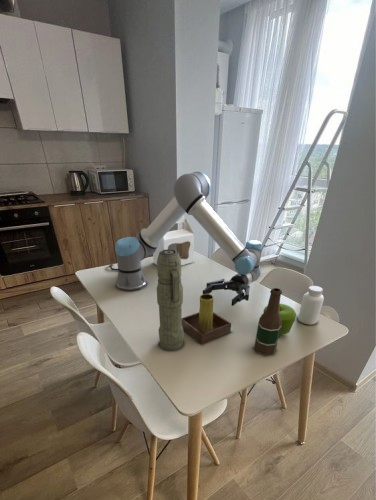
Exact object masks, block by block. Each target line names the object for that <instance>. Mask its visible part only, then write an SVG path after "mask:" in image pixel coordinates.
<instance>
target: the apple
mask: <svg viewBox="0 0 376 500" xmlns="http://www.w3.org/2000/svg"><path fill="white" fill-rule="evenodd" d="M267 306H268V304H267V305H266V306H265V307H264V308H263V313H264V312H265V311H266V309H267ZM263 313H262V314H263ZM279 313H280V315H281V318H282V325H281V329H280V334H279V336H282V335H287V334H289V333H290V332H291V329H292V327H293V325H294V323H295V322H296V321H295V320H296V319H297V313H296V310H295V309H294V308H293V307H291V306H290V305H288V304H285V303H280V304H279Z"/></svg>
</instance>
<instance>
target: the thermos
mask: <svg viewBox="0 0 376 500" xmlns="http://www.w3.org/2000/svg"><path fill="white" fill-rule="evenodd" d="M156 269H157V271H156V273H157V278H158V279H157V285H156V303H157V305H158V311H159V312H158V313H159V314H158V317H159V327H158V340H159V345H160V346H159V347H161V348H162V349H163V350H165V351H177V350H179V349H181V348H182V347H183V344H184V341H183V340H184V330H183V327H182V318H183V317H182V316H183V313H182V311H183V310H182V309H183V308H182V307H183V306H182V305H183V303H184V287H183V283H182V278H181V277H182V265H181V259H180V256H179V253H178V252H177V250H175V249H169V248H168V249H167V250H163V251H161V252H159V255H158V259H157V265H156Z"/></svg>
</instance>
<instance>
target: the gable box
mask: <svg viewBox="0 0 376 500" xmlns="http://www.w3.org/2000/svg"><path fill="white" fill-rule="evenodd" d="M176 224H182V225H181V229H175V230H169V231H168V232H167V233H166V234H165V235H164V236H163V237H162V238H161V240H160V241H159V246H158V247H157V249H156V251H155V252H154V253H153V254H152V263H153V264H154V265H156V266H157V259H158V255H159V252H161V251H163V250H167V249H169V246H170V245H173V244H176V251H177V252H178V253H179V256H180V259H181V266H184V265H187V264H193V263H194V250H195V247H194V246H195V245H194V244H195V233H194V232H193V230H192V227H191V226H190V224H189V219H188V218H186V217H185V214H184V215H183V216H182V217H181V218H180V219H179V220H178V221H177V222H176V223H175V224H174V225H176Z"/></svg>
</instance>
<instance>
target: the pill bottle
mask: <svg viewBox="0 0 376 500" xmlns="http://www.w3.org/2000/svg"><path fill="white" fill-rule="evenodd" d="M323 292H324V291H323V288H322V287H320V286H318V285H310V286H309V287H308V289H307V291H306V292H305V293H304V294H303V296H302V300H301V304H300V308H299V311H298V315H297V320H298V321H299V322H300V323H302V324H305V325H311V326H312V325H315V324H317V322H318V321H319V317H320V314H321V312H322V311H321V310H322V307H323V304H324V302H325V297H324V295H323Z"/></svg>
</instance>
